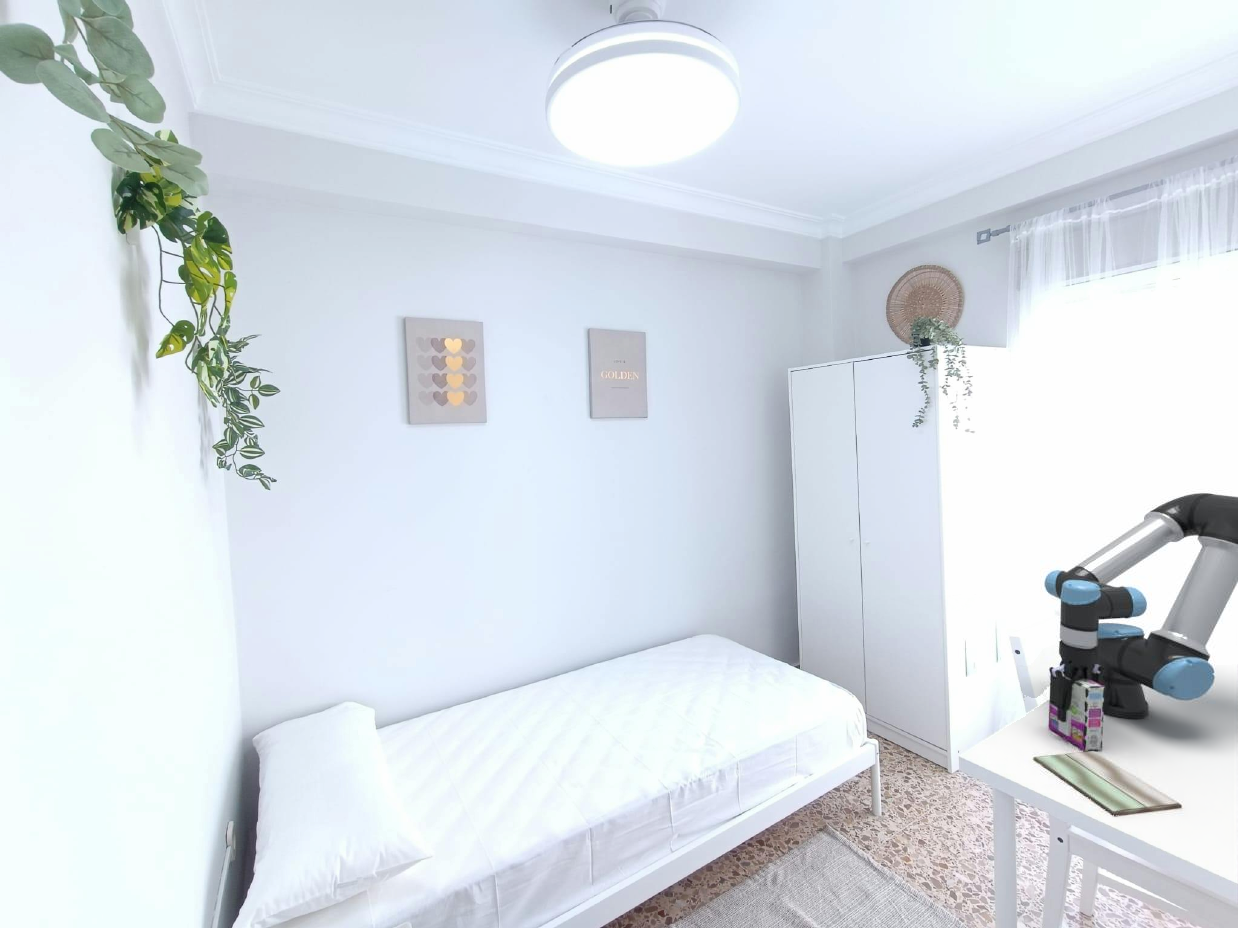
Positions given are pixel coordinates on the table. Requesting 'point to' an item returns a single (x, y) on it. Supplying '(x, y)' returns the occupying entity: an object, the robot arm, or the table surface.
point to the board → (1106, 783)
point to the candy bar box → (1083, 715)
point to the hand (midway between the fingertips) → (1074, 731)
